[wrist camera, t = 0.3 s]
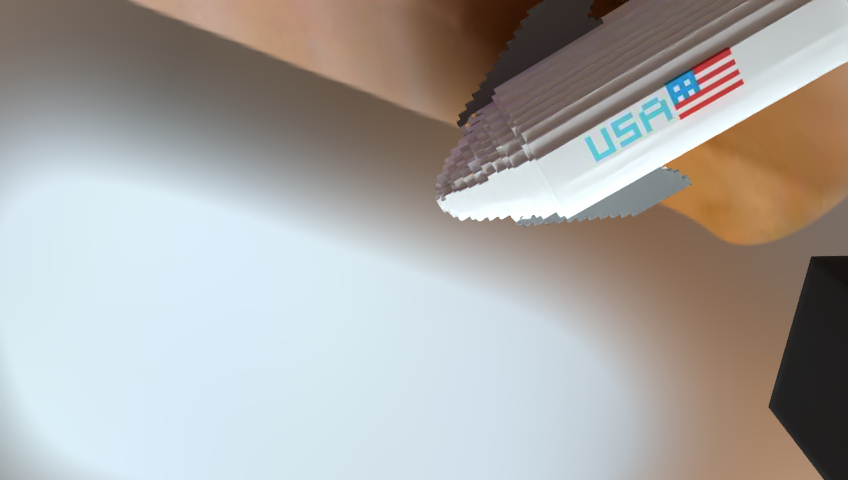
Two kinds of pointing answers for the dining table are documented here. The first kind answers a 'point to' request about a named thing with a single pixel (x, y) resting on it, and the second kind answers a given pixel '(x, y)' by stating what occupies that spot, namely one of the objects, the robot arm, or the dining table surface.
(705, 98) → the rocket model
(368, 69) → the dining table surface
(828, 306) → the robot arm
